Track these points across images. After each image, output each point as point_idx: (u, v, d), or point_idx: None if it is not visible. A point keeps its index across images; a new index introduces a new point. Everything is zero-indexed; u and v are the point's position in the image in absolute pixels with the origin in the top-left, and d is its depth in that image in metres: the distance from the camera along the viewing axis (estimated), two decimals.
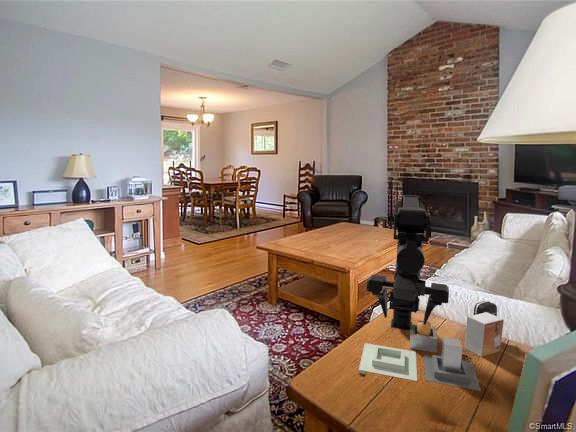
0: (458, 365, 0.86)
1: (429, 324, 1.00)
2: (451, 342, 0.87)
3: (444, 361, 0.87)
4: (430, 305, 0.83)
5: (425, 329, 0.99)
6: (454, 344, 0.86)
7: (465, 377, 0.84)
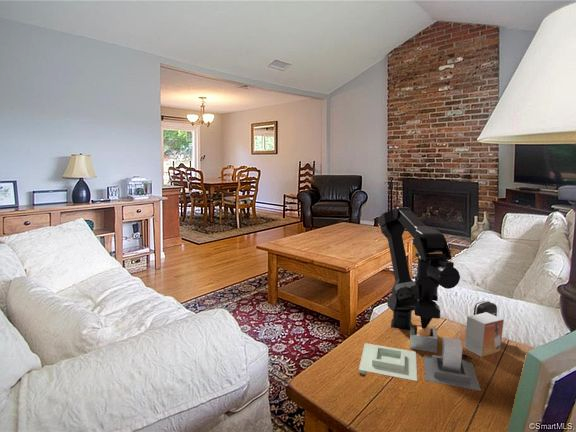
0: (458, 365, 0.86)
1: (429, 329, 1.00)
2: (451, 342, 0.87)
3: (444, 361, 0.87)
4: None
5: (424, 334, 1.00)
6: (454, 344, 0.86)
7: (465, 377, 0.84)
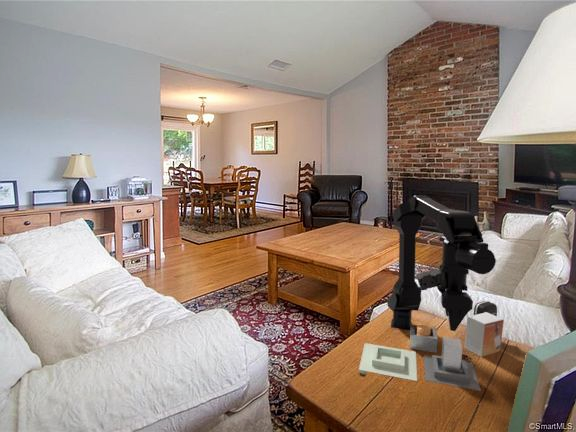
0: (458, 365, 0.86)
1: (429, 329, 1.00)
2: (451, 342, 0.87)
3: (444, 361, 0.87)
4: None
5: (424, 334, 1.00)
6: (454, 344, 0.86)
7: (465, 377, 0.84)
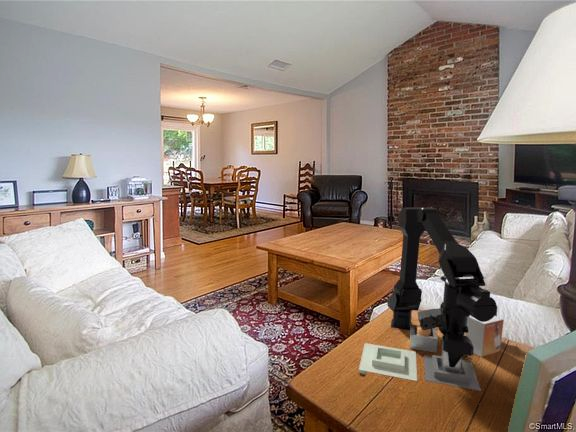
0: (458, 365, 0.86)
1: (429, 329, 1.00)
2: None
3: (444, 361, 0.87)
4: None
5: (424, 334, 1.00)
6: None
7: (465, 377, 0.84)
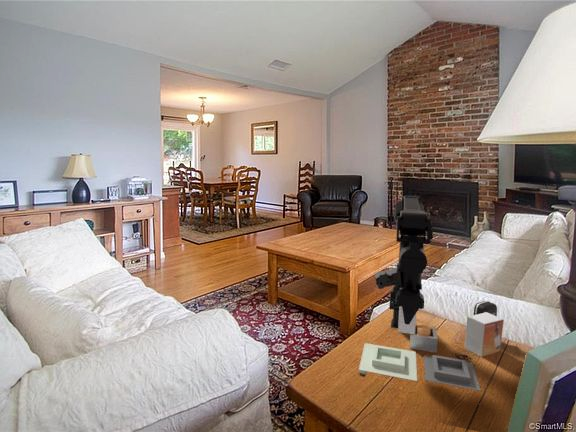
0: (413, 322, 0.88)
1: (429, 329, 1.00)
2: None
3: (400, 319, 0.89)
4: None
5: (424, 334, 1.00)
6: None
7: (465, 377, 0.84)
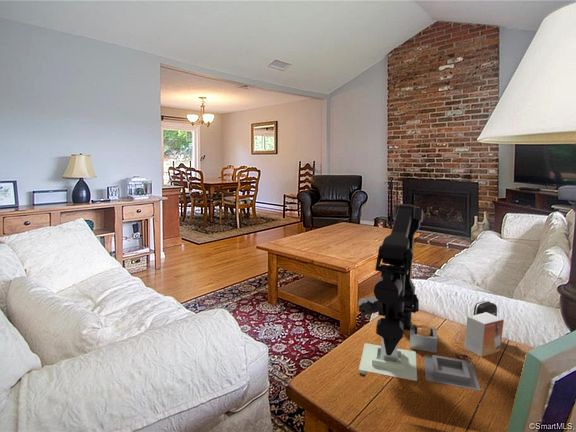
0: (394, 353, 0.91)
1: (429, 329, 1.00)
2: None
3: (382, 350, 0.92)
4: None
5: (424, 334, 1.00)
6: None
7: (465, 377, 0.84)
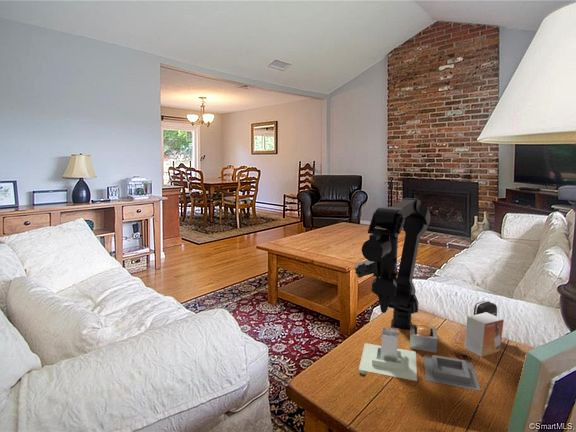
0: (394, 353, 0.91)
1: (429, 329, 1.00)
2: (389, 332, 0.92)
3: (382, 350, 0.92)
4: None
5: (424, 334, 1.00)
6: (390, 334, 0.91)
7: (465, 377, 0.84)
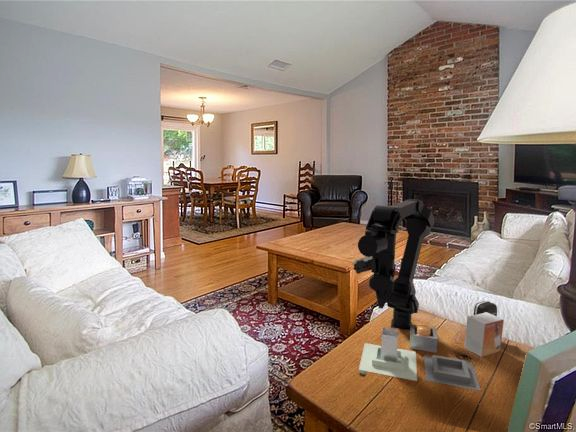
0: (394, 353, 0.91)
1: (429, 329, 1.00)
2: (389, 332, 0.92)
3: (382, 350, 0.92)
4: None
5: (424, 334, 1.00)
6: (390, 334, 0.91)
7: (465, 377, 0.84)
